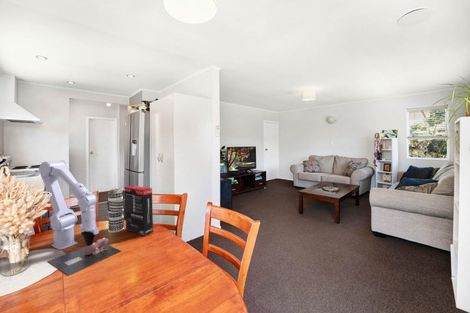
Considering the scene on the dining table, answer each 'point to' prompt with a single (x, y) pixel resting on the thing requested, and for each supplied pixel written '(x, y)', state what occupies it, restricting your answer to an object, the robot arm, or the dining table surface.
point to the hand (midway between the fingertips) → (89, 244)
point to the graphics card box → (139, 209)
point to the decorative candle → (115, 210)
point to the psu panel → (81, 259)
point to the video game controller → (97, 246)
